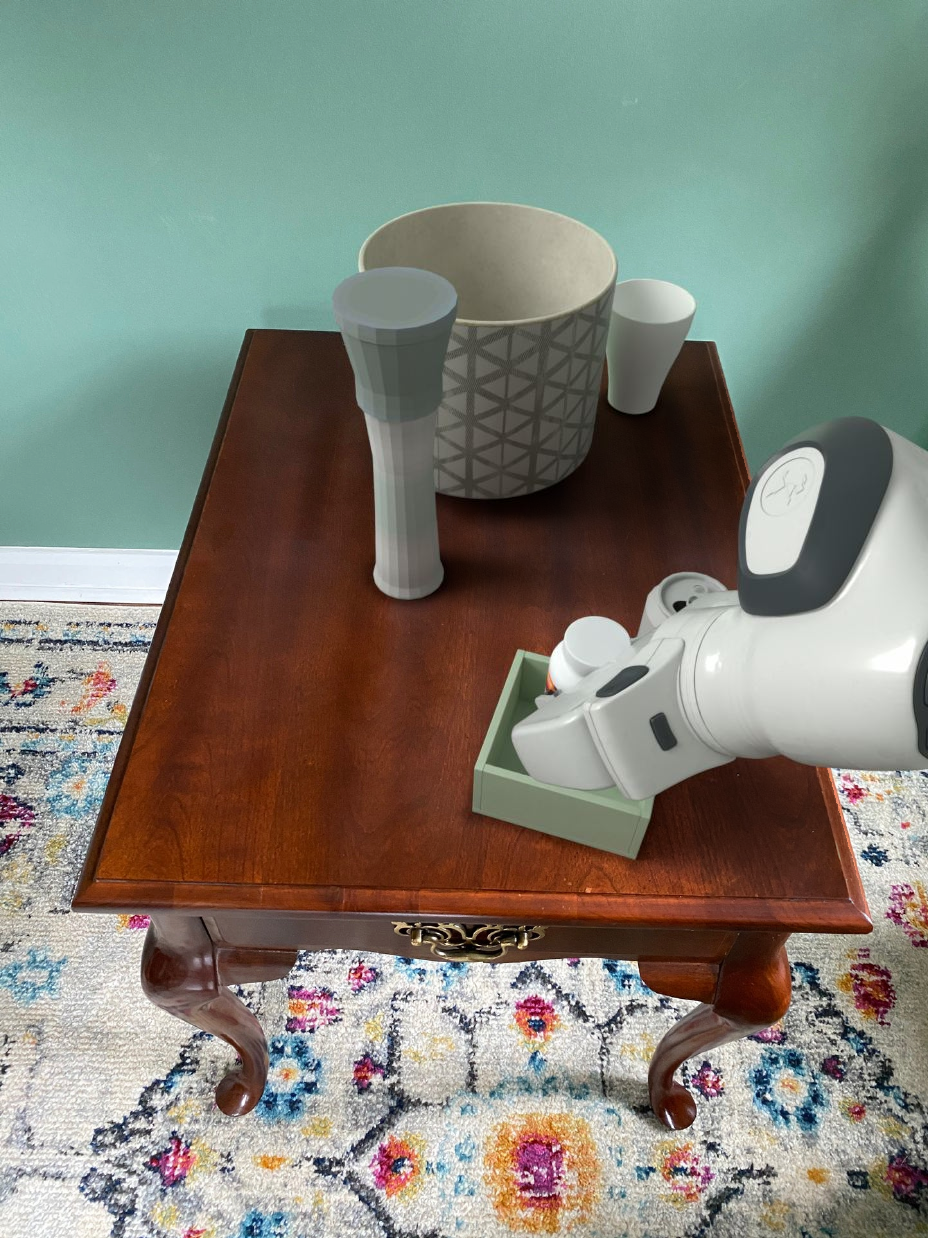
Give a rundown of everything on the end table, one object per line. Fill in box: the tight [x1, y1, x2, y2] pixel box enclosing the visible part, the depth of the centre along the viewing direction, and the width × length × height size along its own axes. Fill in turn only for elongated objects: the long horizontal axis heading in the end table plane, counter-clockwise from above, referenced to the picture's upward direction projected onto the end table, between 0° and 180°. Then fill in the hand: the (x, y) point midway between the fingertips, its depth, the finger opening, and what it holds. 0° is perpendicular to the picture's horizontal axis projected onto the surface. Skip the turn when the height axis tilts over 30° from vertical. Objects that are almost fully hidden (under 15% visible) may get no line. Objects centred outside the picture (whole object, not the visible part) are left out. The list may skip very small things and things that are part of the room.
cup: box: [605, 278, 697, 415], centre depth 103 cm, size 10×10×14 cm
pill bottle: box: [545, 615, 631, 692], centre depth 64 cm, size 6×6×11 cm
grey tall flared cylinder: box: [331, 267, 458, 601], centre depth 76 cm, size 10×10×30 cm
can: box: [637, 571, 729, 636], centre depth 74 cm, size 8×8×12 cm
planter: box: [358, 201, 619, 500], centre depth 92 cm, size 25×25×24 cm
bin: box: [472, 648, 656, 860], centre depth 70 cm, size 13×12×7 cm
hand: (581, 678), depth 64 cm, fingers closed on pill bottle, 6 cm apart
